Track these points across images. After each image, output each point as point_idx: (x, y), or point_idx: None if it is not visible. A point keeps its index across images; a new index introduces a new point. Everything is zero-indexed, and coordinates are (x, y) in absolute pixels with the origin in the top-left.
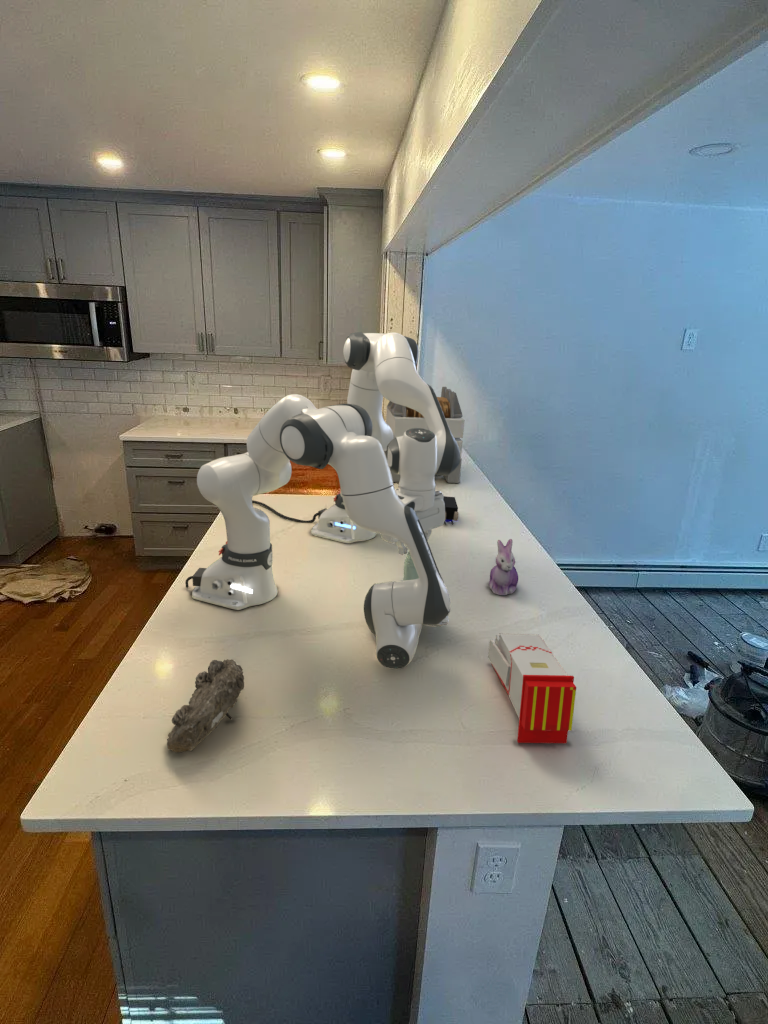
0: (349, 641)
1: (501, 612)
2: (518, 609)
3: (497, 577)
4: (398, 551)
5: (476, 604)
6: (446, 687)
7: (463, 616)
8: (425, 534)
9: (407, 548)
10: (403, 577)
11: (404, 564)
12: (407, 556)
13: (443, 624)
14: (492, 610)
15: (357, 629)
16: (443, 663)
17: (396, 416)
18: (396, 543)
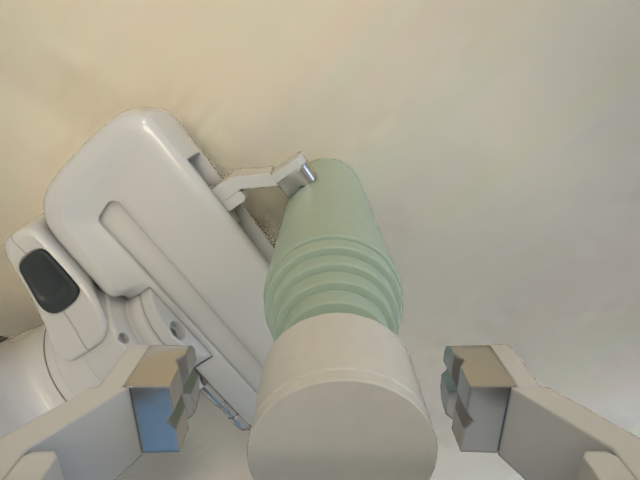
0: (18, 177)
1: (564, 382)
2: (618, 404)
3: None
4: (125, 357)
5: (563, 305)
6: (134, 474)
7: (454, 322)
8: (564, 469)
9: (271, 350)
10: (286, 222)
11: (273, 263)
12: (279, 311)
13: (249, 429)
14: (558, 359)
15: (86, 136)
16: (199, 422)
17: None
18: (27, 430)
